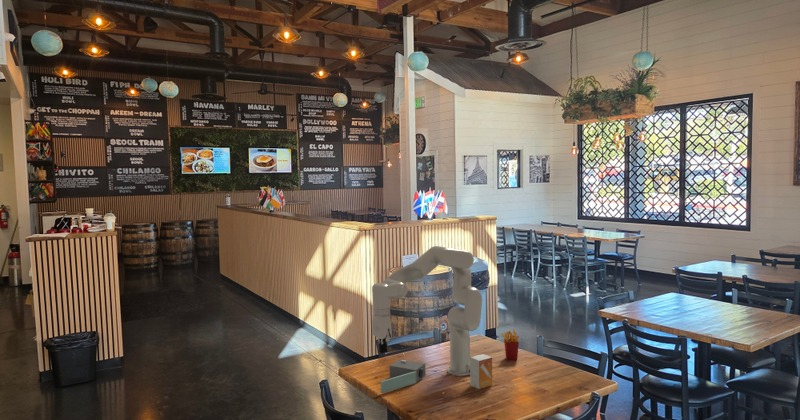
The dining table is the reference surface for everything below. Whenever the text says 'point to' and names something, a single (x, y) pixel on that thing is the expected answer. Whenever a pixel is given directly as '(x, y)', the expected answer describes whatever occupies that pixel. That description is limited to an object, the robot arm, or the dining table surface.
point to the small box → (481, 371)
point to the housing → (407, 369)
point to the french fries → (511, 346)
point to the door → (398, 382)
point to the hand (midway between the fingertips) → (383, 352)
